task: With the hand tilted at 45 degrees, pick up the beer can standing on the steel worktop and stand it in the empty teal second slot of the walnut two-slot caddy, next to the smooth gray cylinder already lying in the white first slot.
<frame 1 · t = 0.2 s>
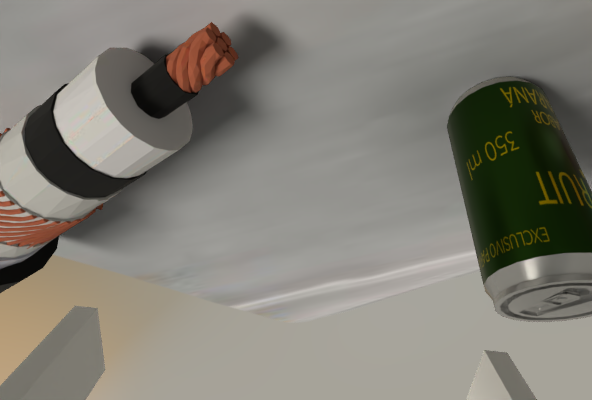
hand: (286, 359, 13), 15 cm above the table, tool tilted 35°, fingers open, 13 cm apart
beer can: (491, 107, 23), on the table
cable: (63, 138, 28), on the table
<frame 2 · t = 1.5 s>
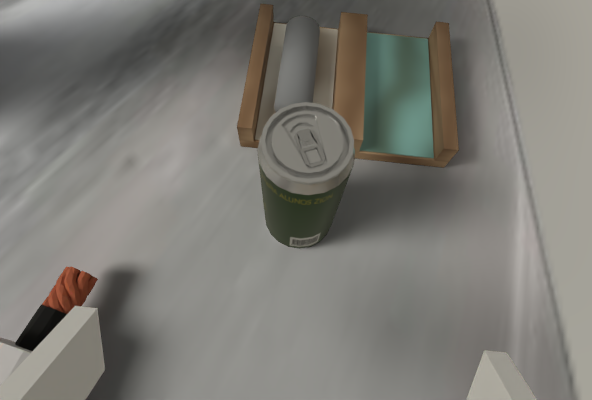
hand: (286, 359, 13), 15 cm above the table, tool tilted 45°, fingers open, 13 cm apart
beer can: (298, 219, 31), on the table
smooth gray cylinder: (301, 88, 36), resting on caddy, tilted 8°
caddy: (346, 92, 36), on the table
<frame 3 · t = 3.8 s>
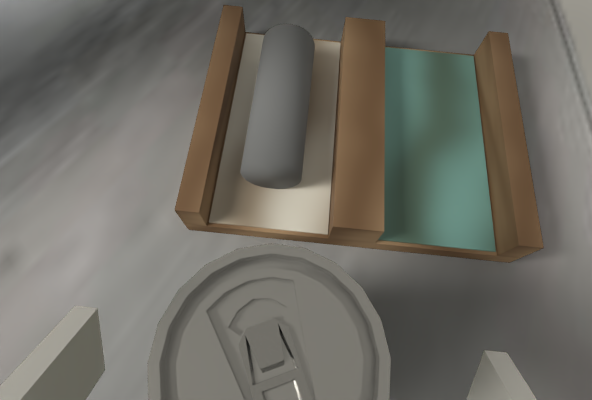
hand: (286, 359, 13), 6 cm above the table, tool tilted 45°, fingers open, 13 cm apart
beer can: (277, 359, 19), on the table
smooth gray cylinder: (284, 132, 24), resting on caddy
caddy: (353, 139, 24), on the table
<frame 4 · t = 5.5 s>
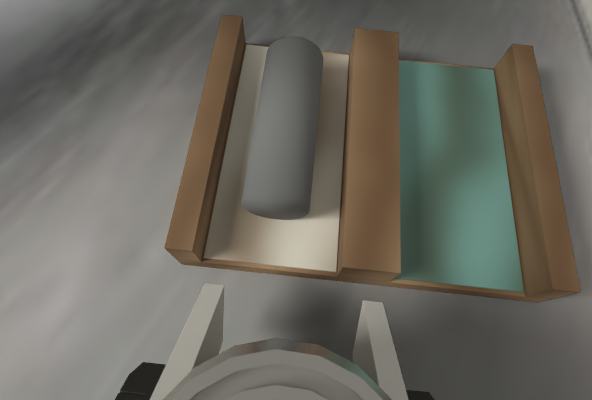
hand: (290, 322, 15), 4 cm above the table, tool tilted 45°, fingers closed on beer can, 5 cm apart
smooth gray cylinder: (286, 153, 22), resting on caddy
caddy: (362, 161, 22), on the table
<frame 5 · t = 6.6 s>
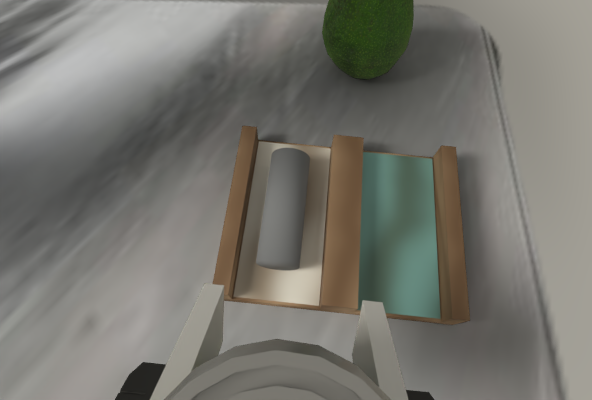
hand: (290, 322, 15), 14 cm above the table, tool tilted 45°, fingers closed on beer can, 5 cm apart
smooth gray cylinder: (288, 220, 32), resting on caddy, tilted 6°
caddy: (339, 226, 32), on the table
avocado: (356, 67, 39), on the table
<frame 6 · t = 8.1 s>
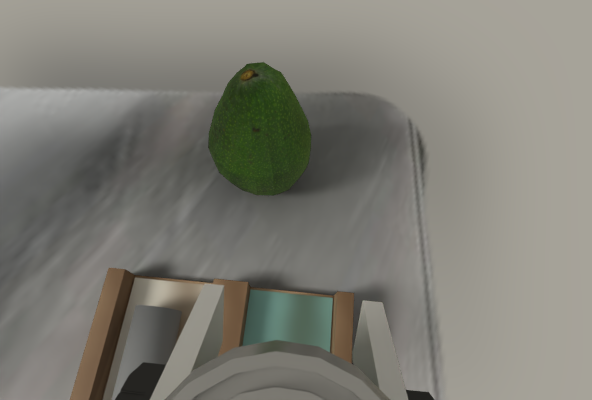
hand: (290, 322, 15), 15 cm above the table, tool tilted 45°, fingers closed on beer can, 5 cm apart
smooth gray cylinder: (163, 377, 28), resting on caddy, tilted 12°
caddy: (220, 384, 27), on the table
avocado: (263, 172, 35), on the table
when the fingers open (6 cm above the table, at t = 10.6 s): beer can drops 1 cm, resting on caddy.
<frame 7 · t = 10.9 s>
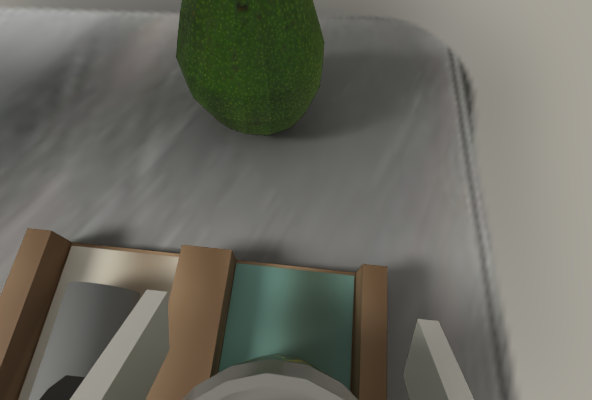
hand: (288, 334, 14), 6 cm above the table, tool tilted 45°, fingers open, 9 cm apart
smooth gray cylinder: (102, 389, 19), resting on caddy
caddy: (190, 399, 19), on the table
avocado: (257, 111, 26), on the table
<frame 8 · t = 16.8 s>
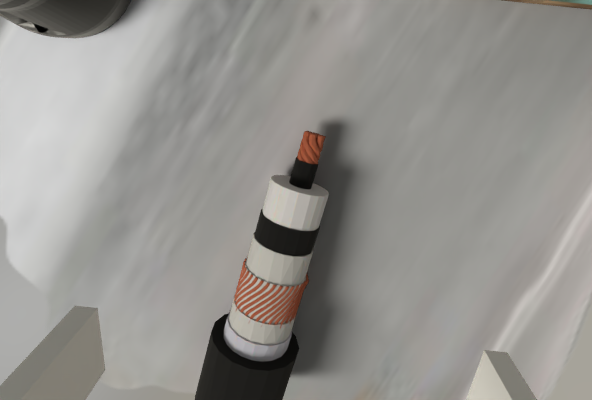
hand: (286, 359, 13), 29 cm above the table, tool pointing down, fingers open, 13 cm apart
cable: (274, 265, 45), on the table
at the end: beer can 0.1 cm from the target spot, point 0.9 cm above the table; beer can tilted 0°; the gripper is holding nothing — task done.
